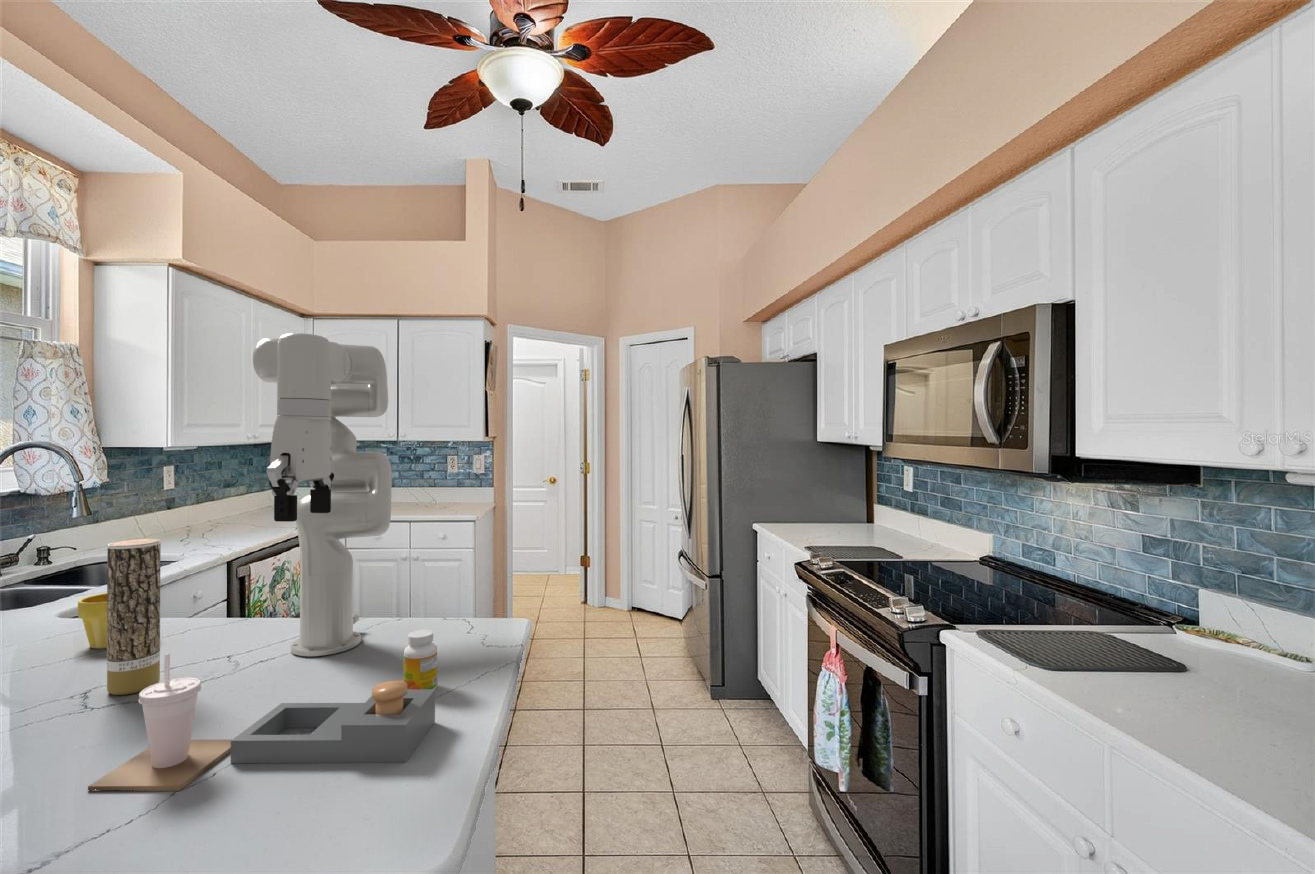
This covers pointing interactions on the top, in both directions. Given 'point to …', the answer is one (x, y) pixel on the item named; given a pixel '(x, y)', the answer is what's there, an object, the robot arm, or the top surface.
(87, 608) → the plant pot
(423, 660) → the supplement bottle
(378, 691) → the tan mushroom
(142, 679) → the bark pattern canister
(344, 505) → the robot arm
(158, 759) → the smoothie
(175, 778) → the mat
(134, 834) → the top surface
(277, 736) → the grey holder
